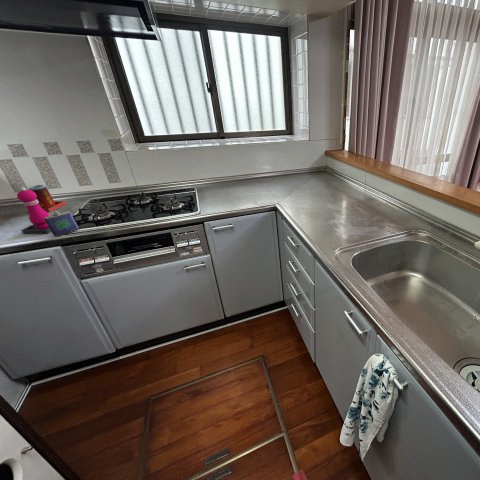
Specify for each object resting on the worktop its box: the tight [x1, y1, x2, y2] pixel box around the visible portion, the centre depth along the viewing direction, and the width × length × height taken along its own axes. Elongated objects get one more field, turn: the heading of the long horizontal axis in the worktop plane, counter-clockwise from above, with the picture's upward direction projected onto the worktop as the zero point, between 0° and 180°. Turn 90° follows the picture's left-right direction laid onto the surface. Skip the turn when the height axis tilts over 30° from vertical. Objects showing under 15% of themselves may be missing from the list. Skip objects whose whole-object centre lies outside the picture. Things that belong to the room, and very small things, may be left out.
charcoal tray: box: [21, 224, 52, 235], centre depth 127 cm, size 11×11×2 cm
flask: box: [44, 210, 80, 238], centre depth 121 cm, size 9×3×11 cm, turn 144°
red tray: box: [26, 200, 67, 213], centre depth 148 cm, size 11×11×2 cm
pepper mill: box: [16, 186, 51, 229], centre depth 122 cm, size 7×7×20 cm
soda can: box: [27, 184, 55, 209], centre depth 145 cm, size 7×7×12 cm
